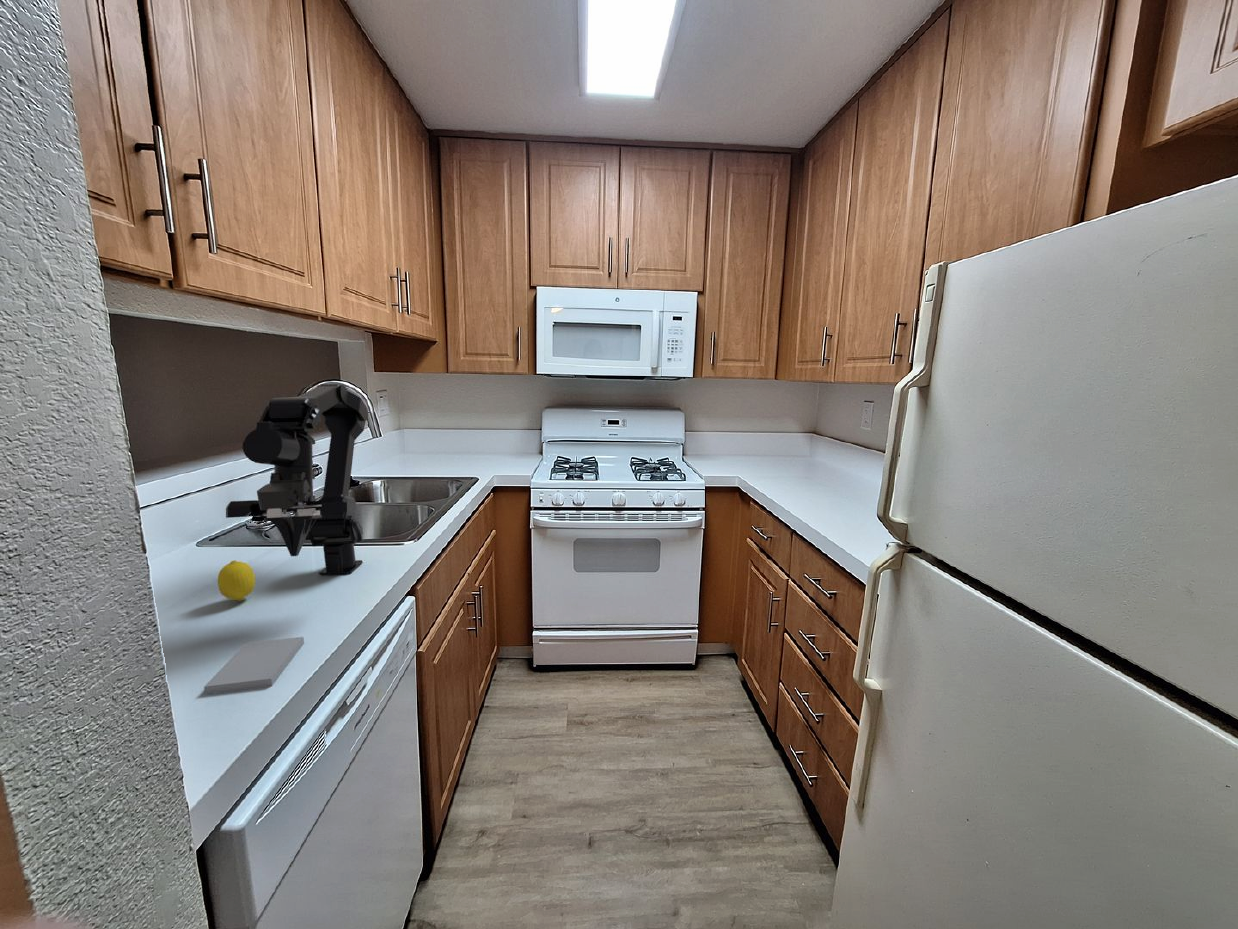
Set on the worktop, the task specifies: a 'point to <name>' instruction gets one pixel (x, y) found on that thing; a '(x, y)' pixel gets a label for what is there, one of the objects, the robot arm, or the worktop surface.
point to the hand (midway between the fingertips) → (294, 556)
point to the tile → (255, 665)
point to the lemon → (236, 580)
